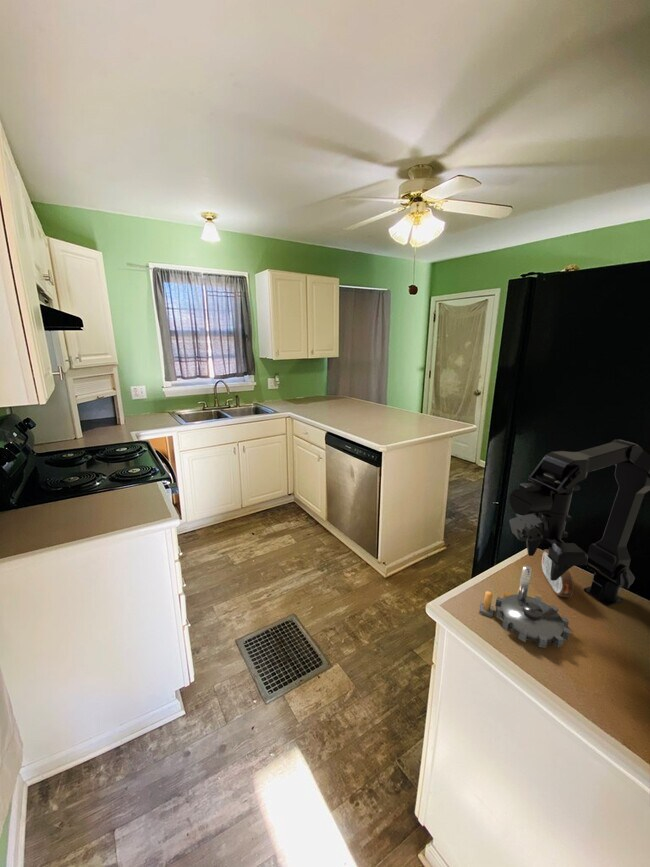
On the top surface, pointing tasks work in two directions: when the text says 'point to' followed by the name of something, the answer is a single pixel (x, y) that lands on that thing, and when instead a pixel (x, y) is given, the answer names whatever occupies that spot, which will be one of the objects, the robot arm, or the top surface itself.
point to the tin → (563, 583)
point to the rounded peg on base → (487, 605)
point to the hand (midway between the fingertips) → (541, 567)
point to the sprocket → (531, 616)
